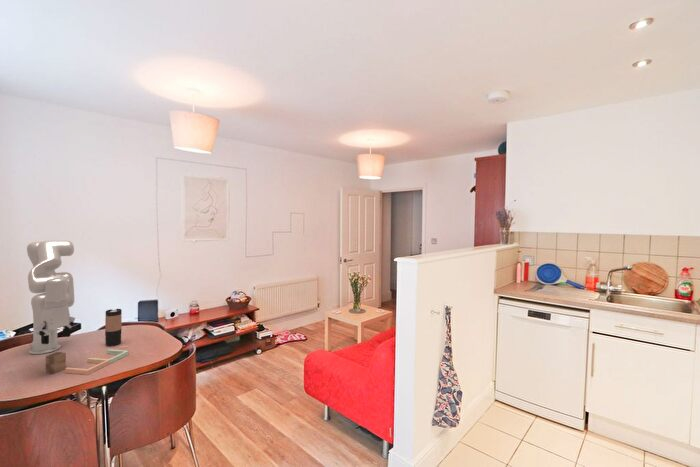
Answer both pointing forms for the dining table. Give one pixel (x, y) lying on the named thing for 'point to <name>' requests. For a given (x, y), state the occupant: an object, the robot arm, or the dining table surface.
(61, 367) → the walnut block
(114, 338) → the travel mug
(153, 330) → the dining table surface
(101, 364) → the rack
